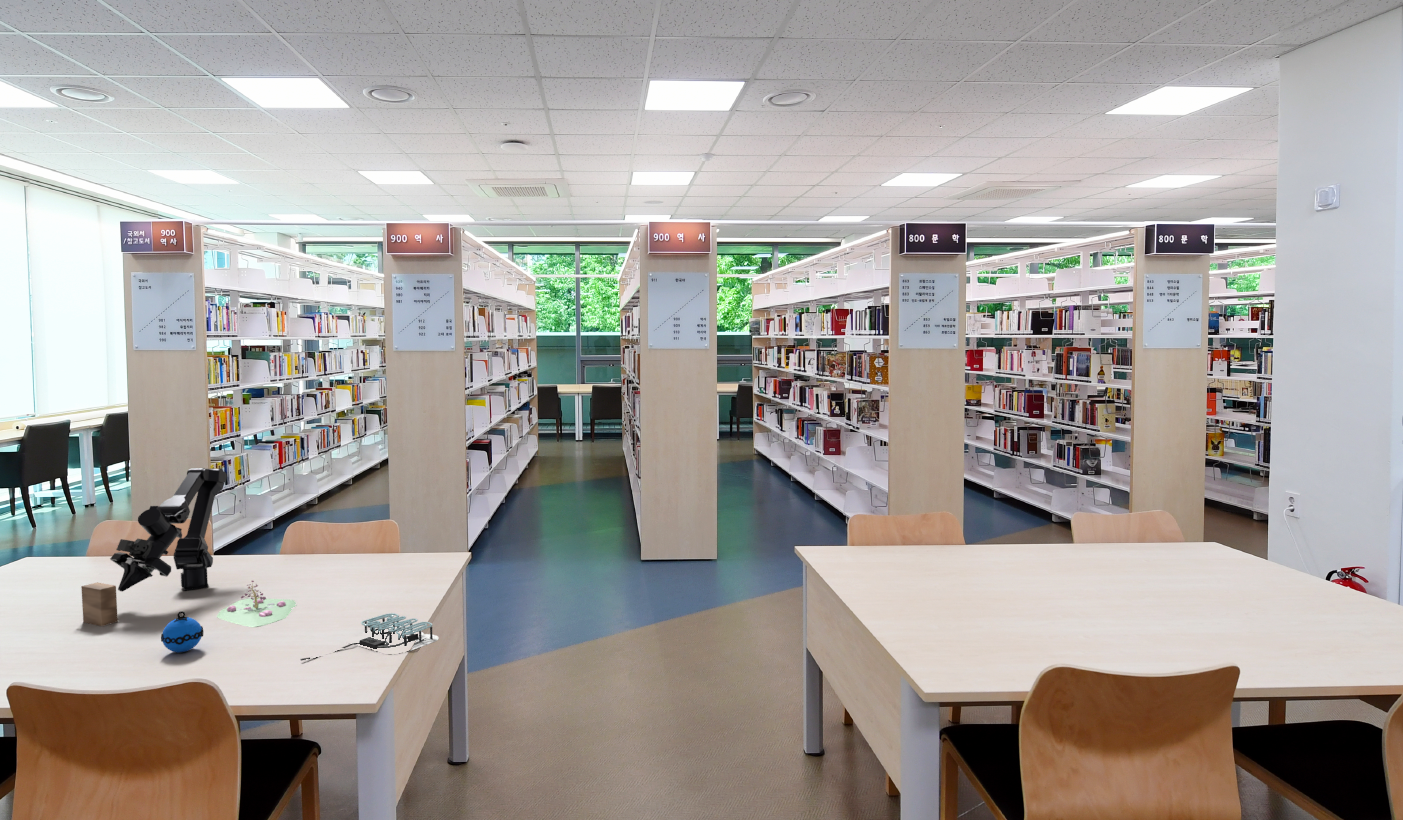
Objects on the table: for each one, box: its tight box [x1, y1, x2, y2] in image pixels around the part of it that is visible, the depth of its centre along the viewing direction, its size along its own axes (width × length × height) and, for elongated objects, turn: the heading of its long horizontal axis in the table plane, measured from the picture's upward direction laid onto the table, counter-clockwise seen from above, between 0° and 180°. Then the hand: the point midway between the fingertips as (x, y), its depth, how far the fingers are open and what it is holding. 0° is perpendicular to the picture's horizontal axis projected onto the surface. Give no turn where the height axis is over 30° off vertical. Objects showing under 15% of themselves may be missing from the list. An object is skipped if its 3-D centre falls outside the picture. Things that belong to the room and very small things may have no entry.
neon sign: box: [300, 612, 440, 661], centre depth 201 cm, size 21×4×29 cm
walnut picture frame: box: [80, 582, 119, 627], centre depth 220 cm, size 4×8×10 cm, turn 67°
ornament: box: [160, 610, 204, 654], centre depth 198 cm, size 9×9×10 cm
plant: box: [216, 580, 297, 628], centre depth 228 cm, size 25×21×9 cm
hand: (119, 590), depth 224 cm, fingers closed
